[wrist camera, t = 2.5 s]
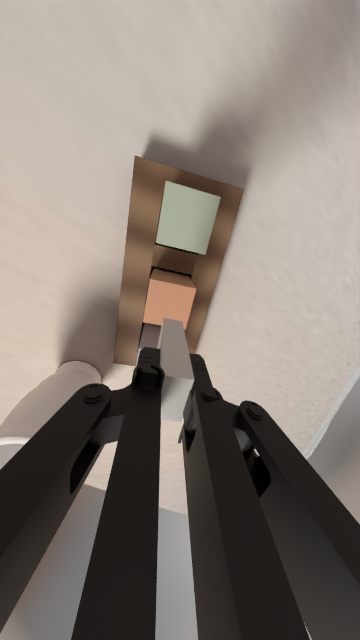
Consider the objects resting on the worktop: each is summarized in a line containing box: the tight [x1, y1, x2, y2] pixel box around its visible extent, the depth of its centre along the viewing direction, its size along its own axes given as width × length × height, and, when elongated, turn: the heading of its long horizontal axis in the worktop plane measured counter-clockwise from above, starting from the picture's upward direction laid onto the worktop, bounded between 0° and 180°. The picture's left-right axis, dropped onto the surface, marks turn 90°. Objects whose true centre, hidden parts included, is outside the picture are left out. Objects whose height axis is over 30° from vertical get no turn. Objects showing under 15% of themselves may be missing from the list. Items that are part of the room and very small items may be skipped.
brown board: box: [113, 156, 244, 366], centre depth 27 cm, size 28×13×3 cm, turn 167°
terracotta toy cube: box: [143, 269, 196, 330], centre depth 23 cm, size 5×5×8 cm
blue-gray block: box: [136, 323, 162, 366], centre depth 27 cm, size 5×5×8 cm
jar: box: [0, 361, 101, 469], centre depth 28 cm, size 11×10×15 cm
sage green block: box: [156, 181, 221, 255], centre depth 20 cm, size 5×5×8 cm
